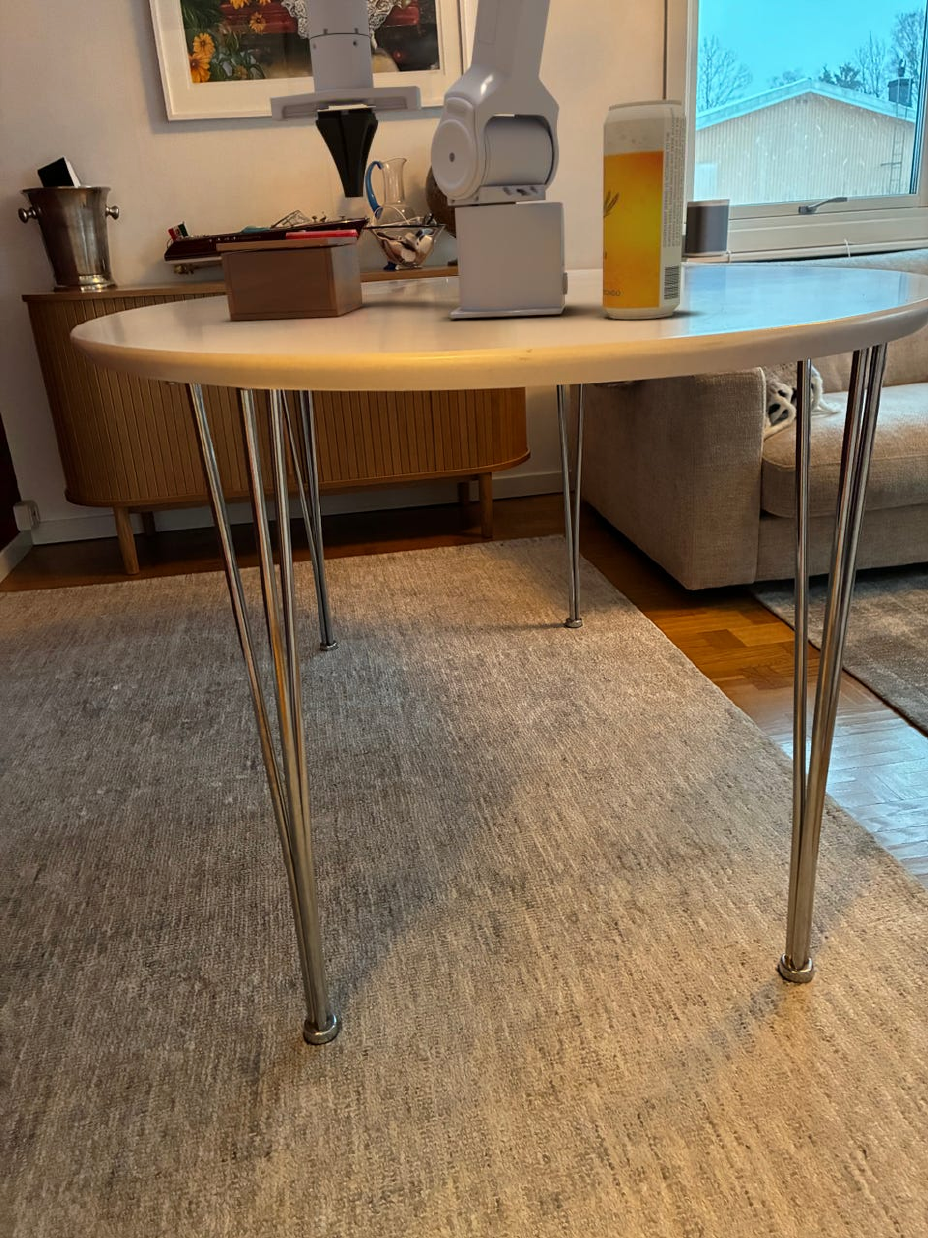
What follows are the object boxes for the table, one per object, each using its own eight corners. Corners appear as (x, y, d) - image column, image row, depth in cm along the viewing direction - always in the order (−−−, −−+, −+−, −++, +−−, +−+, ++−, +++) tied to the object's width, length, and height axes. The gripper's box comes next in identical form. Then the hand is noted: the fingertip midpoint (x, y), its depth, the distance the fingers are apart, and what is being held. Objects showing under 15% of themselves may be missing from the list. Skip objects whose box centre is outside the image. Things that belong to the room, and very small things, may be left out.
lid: (328, 244, 85) (327, 237, 85) (216, 250, 87) (215, 243, 86) (357, 242, 95) (356, 236, 94) (256, 248, 96) (255, 242, 96)
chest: (337, 316, 88) (330, 247, 86) (230, 320, 90) (220, 253, 87) (363, 306, 97) (357, 243, 95) (264, 310, 99) (256, 248, 96)
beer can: (626, 310, 79) (629, 110, 73) (692, 312, 75) (701, 101, 69) (588, 319, 74) (588, 106, 68) (656, 320, 71) (662, 96, 65)
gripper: (422, 39, 90) (432, 193, 95) (280, 52, 92) (297, 201, 98) (408, 26, 84) (419, 192, 89) (255, 40, 86) (275, 201, 91)
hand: (354, 197), depth 93 cm, fingers closed
